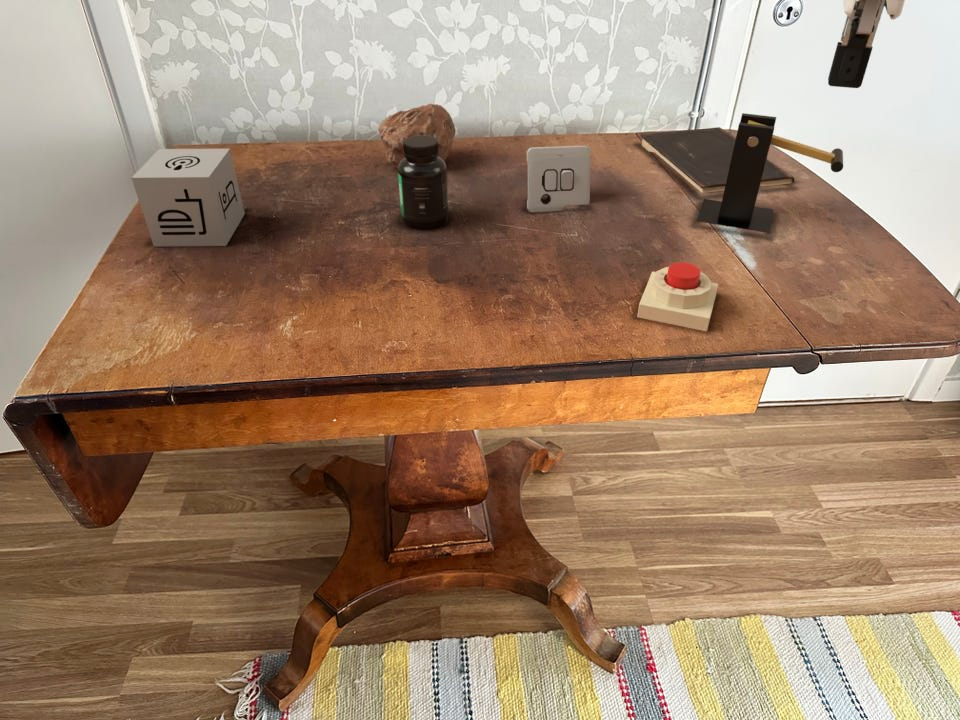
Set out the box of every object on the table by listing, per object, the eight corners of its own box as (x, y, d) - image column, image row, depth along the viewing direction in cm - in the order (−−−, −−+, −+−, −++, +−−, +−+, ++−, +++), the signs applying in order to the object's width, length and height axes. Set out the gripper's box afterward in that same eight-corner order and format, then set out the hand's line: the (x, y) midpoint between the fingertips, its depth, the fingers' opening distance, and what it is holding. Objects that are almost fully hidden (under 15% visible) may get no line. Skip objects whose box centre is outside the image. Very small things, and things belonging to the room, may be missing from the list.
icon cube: (226, 245, 97) (208, 177, 91) (153, 246, 97) (131, 177, 91) (244, 213, 105) (230, 148, 99) (178, 214, 105) (159, 149, 99)
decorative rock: (448, 148, 125) (446, 91, 119) (465, 172, 117) (464, 112, 111) (375, 157, 122) (370, 98, 116) (387, 182, 114) (382, 120, 108)
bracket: (771, 216, 104) (799, 115, 95) (767, 240, 98) (796, 135, 89) (702, 205, 107) (722, 107, 97) (694, 228, 101) (715, 125, 92)
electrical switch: (527, 214, 104) (529, 152, 99) (522, 203, 109) (524, 142, 104) (589, 212, 105) (594, 149, 100) (582, 200, 109) (586, 140, 104)
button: (699, 278, 83) (702, 265, 82) (695, 293, 80) (698, 280, 79) (668, 272, 84) (671, 260, 83) (663, 287, 81) (665, 274, 80)
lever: (837, 163, 95) (846, 146, 93) (837, 177, 91) (847, 160, 89) (742, 133, 97) (749, 116, 95) (738, 145, 93) (746, 128, 92)
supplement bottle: (395, 229, 101) (388, 148, 93) (410, 209, 106) (404, 130, 99) (441, 234, 99) (437, 152, 92) (453, 213, 105) (451, 134, 97)
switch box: (715, 298, 86) (721, 270, 83) (706, 334, 80) (713, 304, 78) (649, 286, 88) (654, 258, 86) (636, 319, 82) (641, 290, 80)
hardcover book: (699, 200, 108) (702, 186, 107) (638, 147, 126) (640, 134, 124) (792, 190, 111) (796, 176, 109) (719, 139, 129) (722, 126, 127)
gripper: (963, -120, 57) (887, 110, 68) (940, -131, 68) (878, 69, 79) (861, -120, 59) (804, 103, 70) (855, -130, 70) (806, 64, 81)
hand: (843, 84), depth 74 cm, fingers closed
